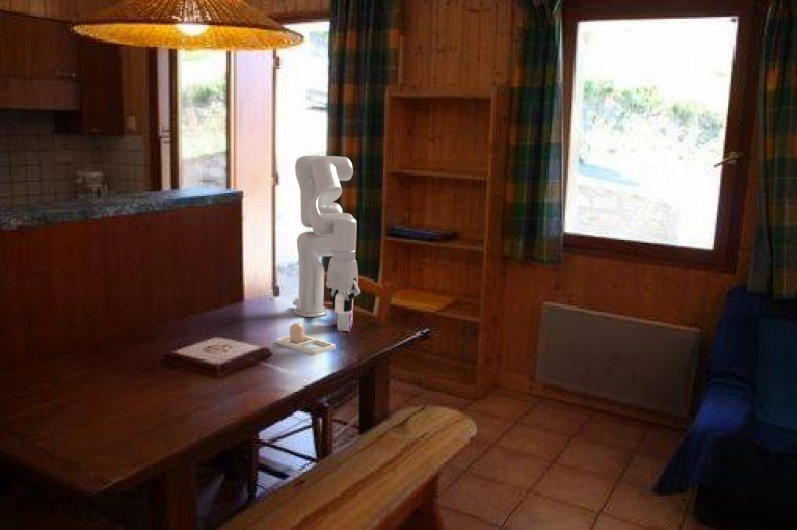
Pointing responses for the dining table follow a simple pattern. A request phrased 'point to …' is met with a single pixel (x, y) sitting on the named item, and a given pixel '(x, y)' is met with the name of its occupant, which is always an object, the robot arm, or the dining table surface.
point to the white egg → (340, 303)
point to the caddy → (308, 342)
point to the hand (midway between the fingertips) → (341, 308)
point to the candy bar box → (345, 320)
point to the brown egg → (296, 333)
